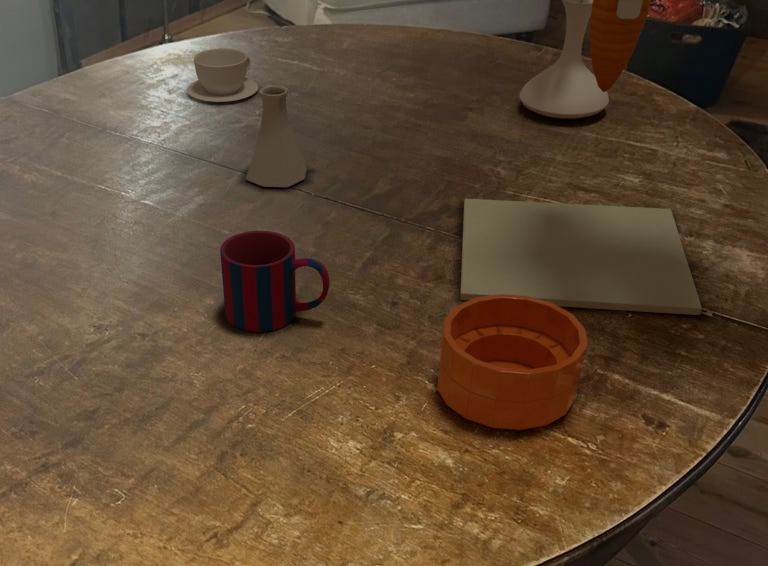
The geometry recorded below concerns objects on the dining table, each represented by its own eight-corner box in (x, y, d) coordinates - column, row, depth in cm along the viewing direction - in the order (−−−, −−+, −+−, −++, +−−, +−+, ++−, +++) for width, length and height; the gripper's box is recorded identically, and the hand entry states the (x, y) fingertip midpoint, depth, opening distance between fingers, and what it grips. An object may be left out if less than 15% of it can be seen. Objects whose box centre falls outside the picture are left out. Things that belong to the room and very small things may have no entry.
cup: (245, 288, 91) (241, 224, 86) (339, 310, 88) (340, 245, 83) (212, 323, 87) (206, 257, 82) (310, 347, 83) (309, 280, 79)
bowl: (568, 358, 81) (581, 298, 77) (577, 439, 73) (592, 378, 69) (439, 349, 83) (446, 290, 79) (434, 428, 75) (441, 367, 71)
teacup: (217, 111, 125) (215, 75, 122) (173, 92, 130) (169, 57, 127) (273, 91, 130) (272, 56, 126) (227, 73, 135) (225, 40, 132)
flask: (316, 168, 111) (316, 83, 104) (291, 194, 106) (289, 106, 99) (262, 159, 113) (259, 75, 106) (235, 183, 108) (229, 96, 102)
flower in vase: (530, 89, 128) (562, -123, 111) (614, 101, 124) (660, -117, 107) (503, 124, 119) (534, -101, 103) (592, 138, 116) (639, -93, 99)
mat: (669, 215, 100) (671, 208, 100) (699, 315, 86) (702, 308, 85) (463, 204, 103) (464, 198, 103) (459, 300, 89) (460, 293, 88)
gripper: (736, -178, 60) (680, 46, 69) (686, -217, 75) (646, -28, 84) (635, -177, 61) (593, 44, 70) (606, -216, 76) (574, -29, 85)
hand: (622, 4), depth 77 cm, fingers closed on carrot, 5 cm apart
